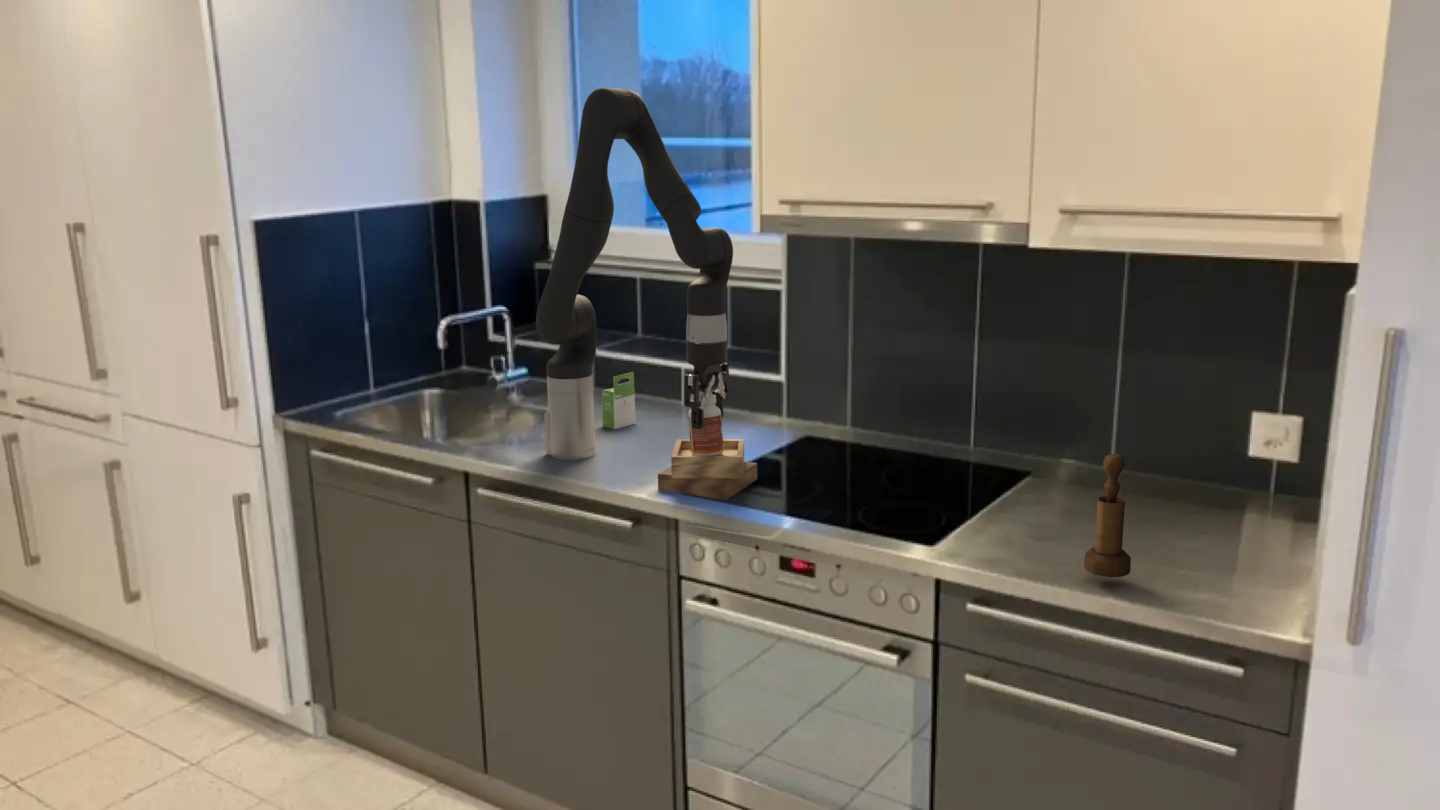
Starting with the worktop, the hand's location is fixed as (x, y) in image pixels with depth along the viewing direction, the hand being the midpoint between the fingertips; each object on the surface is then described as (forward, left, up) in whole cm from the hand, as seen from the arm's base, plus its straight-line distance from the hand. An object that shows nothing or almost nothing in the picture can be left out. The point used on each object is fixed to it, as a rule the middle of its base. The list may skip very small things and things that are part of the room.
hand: (707, 423), depth 223 cm
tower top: (0, 0, -9) cm, 9 cm away
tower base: (0, 0, -13) cm, 13 cm away
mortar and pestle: (+75, -16, -12) cm, 77 cm away
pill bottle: (0, 0, -6) cm, 6 cm away
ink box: (-37, +30, -12) cm, 49 cm away
